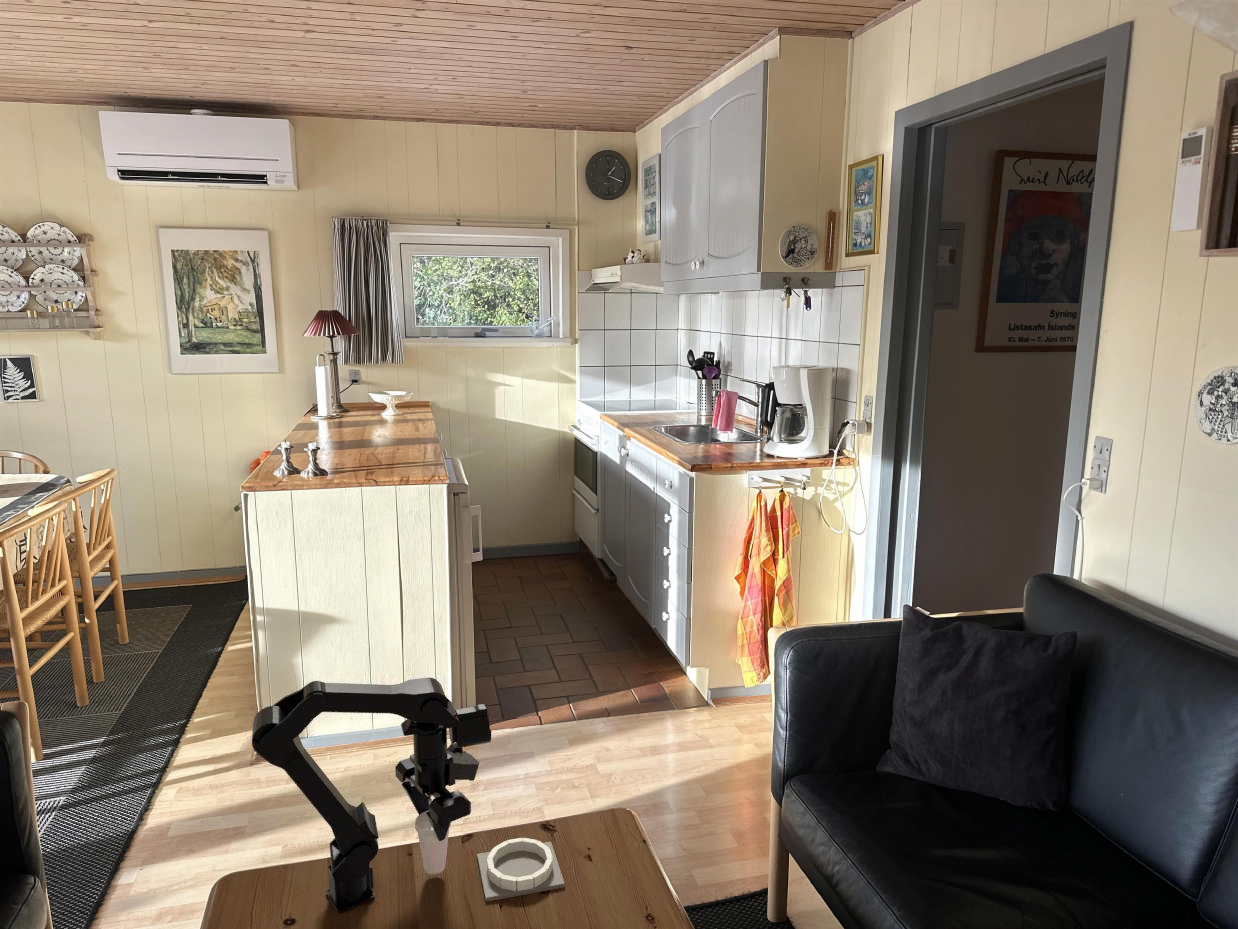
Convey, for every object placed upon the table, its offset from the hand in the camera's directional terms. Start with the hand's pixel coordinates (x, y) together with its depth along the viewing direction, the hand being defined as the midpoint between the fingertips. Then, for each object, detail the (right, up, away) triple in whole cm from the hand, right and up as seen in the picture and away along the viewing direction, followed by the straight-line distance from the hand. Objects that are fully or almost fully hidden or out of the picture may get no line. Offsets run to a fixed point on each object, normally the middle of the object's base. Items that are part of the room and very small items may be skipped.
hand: (433, 830), depth 153 cm
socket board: (+15, -9, +3) cm, 18 cm away
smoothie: (0, -8, +2) cm, 8 cm away
